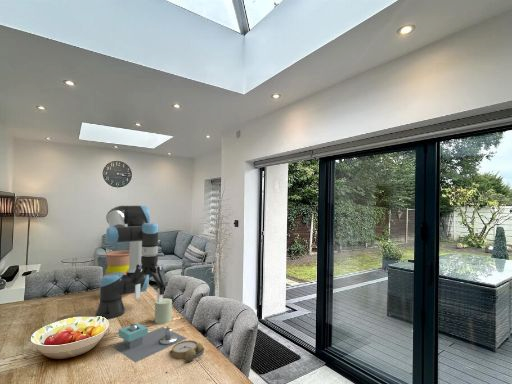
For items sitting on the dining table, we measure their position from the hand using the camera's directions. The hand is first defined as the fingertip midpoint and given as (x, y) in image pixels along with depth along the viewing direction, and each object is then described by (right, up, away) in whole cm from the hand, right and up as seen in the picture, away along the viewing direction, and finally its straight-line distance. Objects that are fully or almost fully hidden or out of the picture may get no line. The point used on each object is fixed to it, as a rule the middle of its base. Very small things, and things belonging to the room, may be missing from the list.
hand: (148, 299), depth 132 cm
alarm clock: (+22, -19, -13) cm, 32 cm away
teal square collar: (-5, -14, -5) cm, 16 cm away
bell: (+10, -19, -2) cm, 21 cm away
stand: (-5, -18, -6) cm, 20 cm away
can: (0, -21, +21) cm, 29 cm away
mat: (+3, -19, -4) cm, 20 cm away
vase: (-48, -23, +68) cm, 86 cm away
